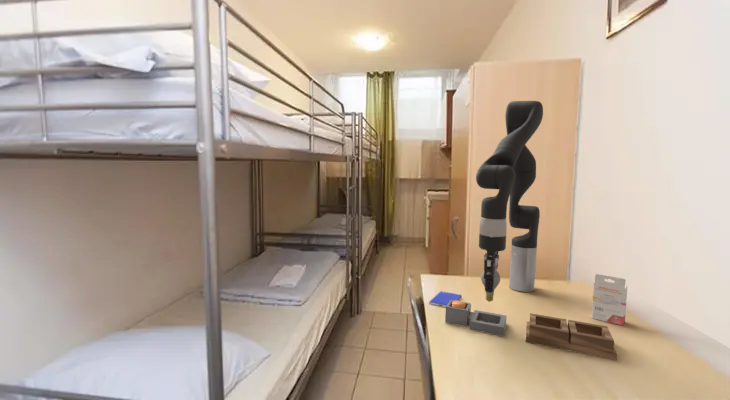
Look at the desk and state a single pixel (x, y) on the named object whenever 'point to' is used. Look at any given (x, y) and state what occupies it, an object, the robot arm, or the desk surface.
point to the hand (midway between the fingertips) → (490, 288)
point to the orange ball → (458, 304)
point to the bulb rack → (571, 335)
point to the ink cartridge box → (609, 299)
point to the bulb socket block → (475, 319)
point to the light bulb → (495, 283)
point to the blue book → (444, 298)
